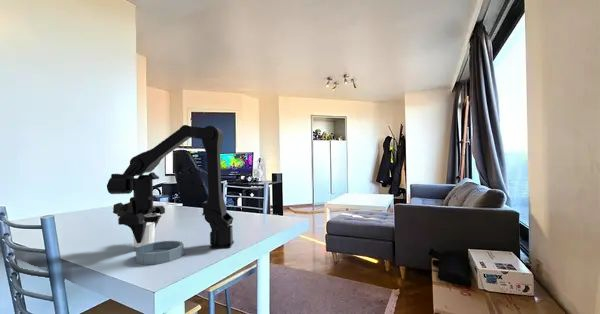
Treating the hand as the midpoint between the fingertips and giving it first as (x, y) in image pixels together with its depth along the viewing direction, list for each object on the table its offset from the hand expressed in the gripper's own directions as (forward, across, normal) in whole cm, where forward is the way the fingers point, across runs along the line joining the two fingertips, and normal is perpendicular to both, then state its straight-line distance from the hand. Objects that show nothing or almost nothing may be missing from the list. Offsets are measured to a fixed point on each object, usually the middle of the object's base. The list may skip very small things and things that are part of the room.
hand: (144, 240), depth 97 cm
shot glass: (+2, 0, 0) cm, 2 cm away
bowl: (+2, +10, +10) cm, 14 cm away
